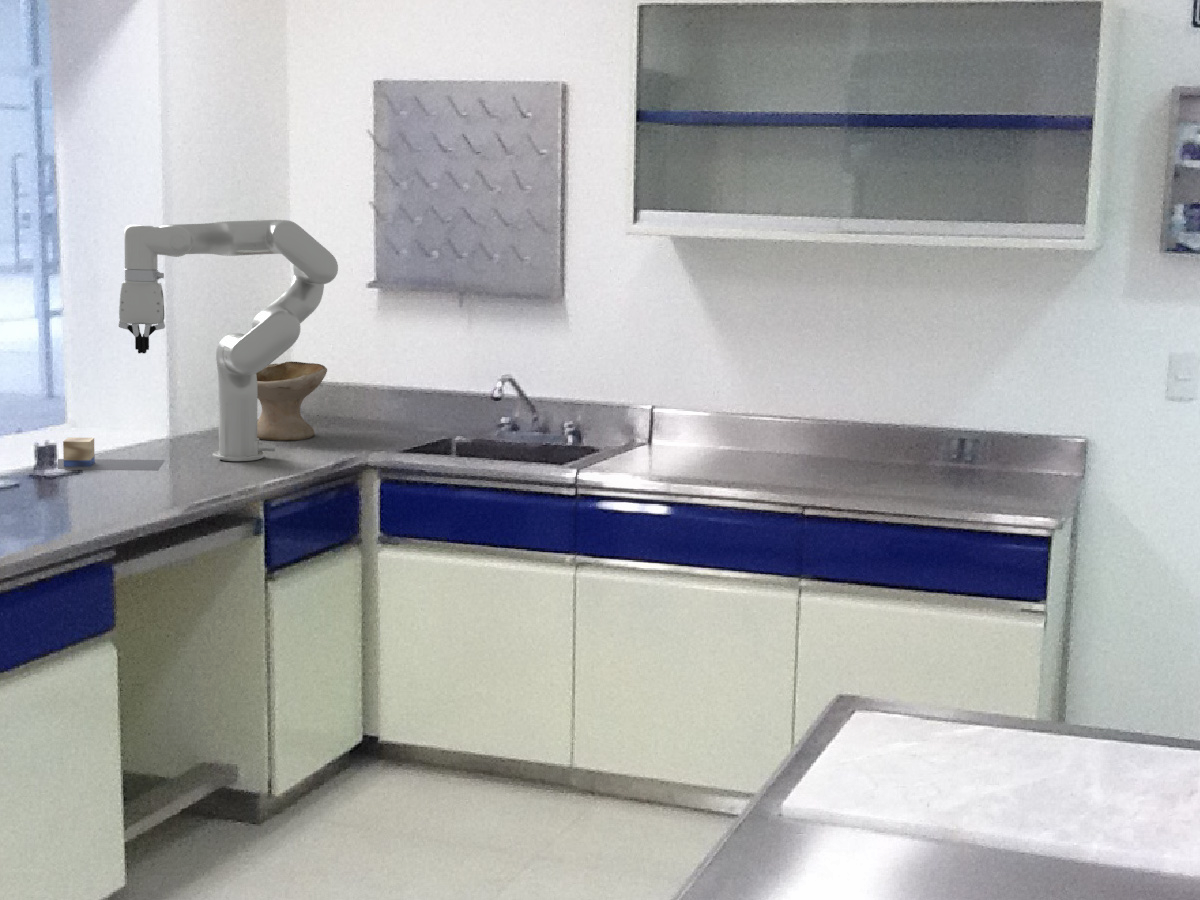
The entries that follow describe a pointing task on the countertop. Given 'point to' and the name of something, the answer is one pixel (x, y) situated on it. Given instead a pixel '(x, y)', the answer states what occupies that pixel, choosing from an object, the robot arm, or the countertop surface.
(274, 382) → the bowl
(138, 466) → the mat
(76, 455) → the cube
